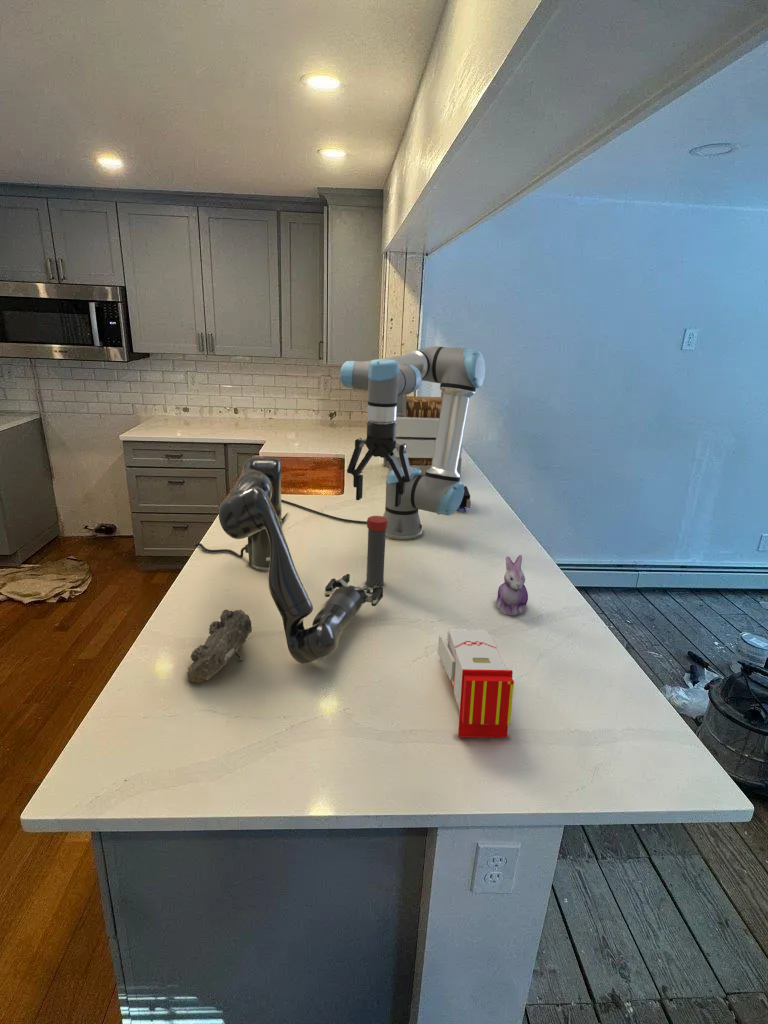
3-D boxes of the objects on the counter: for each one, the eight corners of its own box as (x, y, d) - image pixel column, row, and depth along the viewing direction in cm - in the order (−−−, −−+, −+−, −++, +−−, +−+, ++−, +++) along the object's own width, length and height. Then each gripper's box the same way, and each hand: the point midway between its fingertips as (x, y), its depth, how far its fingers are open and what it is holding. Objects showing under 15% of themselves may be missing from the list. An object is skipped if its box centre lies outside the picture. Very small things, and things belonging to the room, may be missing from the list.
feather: (294, 507, 225) (297, 503, 224) (277, 531, 198) (280, 526, 197) (290, 504, 224) (293, 500, 224) (273, 528, 198) (276, 524, 197)
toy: (488, 613, 130) (523, 677, 101) (484, 667, 133) (517, 744, 104) (435, 612, 130) (455, 676, 101) (432, 666, 133) (451, 743, 103)
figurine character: (470, 516, 223) (465, 500, 237) (473, 499, 220) (467, 484, 233) (453, 516, 223) (449, 500, 236) (455, 498, 220) (451, 483, 233)
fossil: (206, 612, 136) (251, 583, 131) (234, 639, 138) (279, 612, 133) (166, 676, 116) (217, 644, 111) (199, 706, 119) (250, 677, 114)
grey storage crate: (382, 463, 289) (386, 382, 275) (445, 464, 293) (451, 384, 279) (390, 482, 257) (394, 392, 243) (460, 483, 261) (468, 394, 247)
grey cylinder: (384, 588, 161) (387, 523, 154) (367, 588, 160) (369, 523, 154) (382, 580, 165) (385, 517, 159) (365, 580, 165) (367, 517, 158)
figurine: (510, 620, 147) (517, 567, 142) (486, 602, 155) (492, 552, 150) (538, 612, 151) (545, 561, 146) (513, 595, 159) (519, 546, 154)
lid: (388, 531, 155) (388, 522, 154) (367, 531, 154) (368, 522, 153) (386, 523, 160) (386, 515, 159) (366, 523, 159) (366, 515, 158)
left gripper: (369, 599, 134) (389, 571, 148) (313, 589, 137) (338, 562, 152) (368, 627, 136) (388, 597, 151) (313, 616, 140) (338, 587, 155)
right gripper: (428, 423, 146) (422, 504, 154) (346, 414, 154) (345, 492, 161) (420, 428, 140) (414, 512, 147) (334, 419, 147) (333, 499, 155)
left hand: (363, 579), depth 151 cm, fingers open, 8 cm apart
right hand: (378, 502), depth 154 cm, fingers open, 11 cm apart
